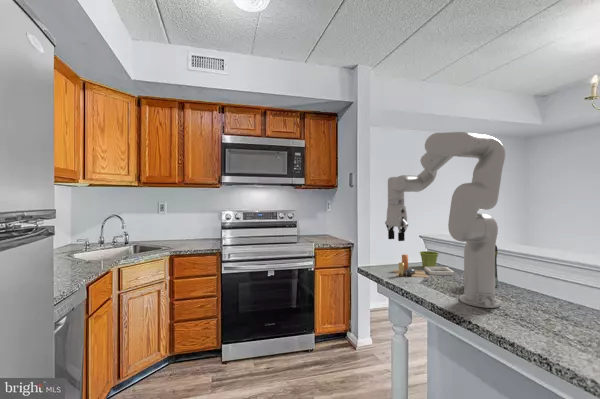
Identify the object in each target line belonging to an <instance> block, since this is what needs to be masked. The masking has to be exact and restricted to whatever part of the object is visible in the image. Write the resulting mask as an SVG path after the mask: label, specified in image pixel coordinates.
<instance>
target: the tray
mask: <svg viewBox="0 0 600 399" xmlns="http://www.w3.org/2000/svg"><path fill="white" fill-rule="evenodd" d="M423 269H424V271H425V272H427V274H429V275H431V276H452V277H453V278H455V277H456V273H455V271H454V270H452V269H450V267H447V266H436V267H423Z"/></svg>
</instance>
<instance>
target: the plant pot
mask: <svg viewBox="0 0 600 399" xmlns="http://www.w3.org/2000/svg"><path fill="white" fill-rule="evenodd" d="M419 254H420V258H421V265H422V268H424V267H437V260H438V257H439V252H437V251H429V250H428V251H427V250H425V251H424V250H423V251H419Z"/></svg>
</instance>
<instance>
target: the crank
mask: <svg viewBox="0 0 600 399" xmlns="http://www.w3.org/2000/svg"><path fill="white" fill-rule="evenodd" d="M398 270H399V276H406V275H407V272H412V274H415V270H416V269H415V268H410V267H408V268H407V269H405V271H404V263H402V262H398Z"/></svg>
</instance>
